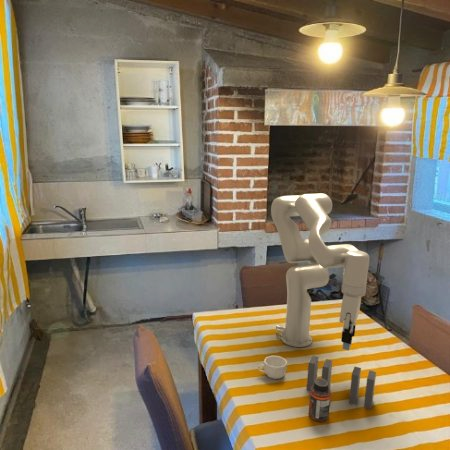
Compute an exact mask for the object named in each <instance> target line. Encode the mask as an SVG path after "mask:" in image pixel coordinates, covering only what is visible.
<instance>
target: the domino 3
mask: <svg viewBox="0 0 450 450" xmlns="http://www.w3.org/2000/svg"><path fill="white" fill-rule="evenodd" d="M350 323H352V322H350ZM353 326H354V325H353ZM349 327H351V326H350V325H349ZM352 333H353V327H352ZM352 342H353V341H352ZM352 342H351V344H348V343H344V342H342V343H343V344H342V350H345V351H350V348H351V346H352Z"/></svg>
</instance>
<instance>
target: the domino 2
mask: <svg viewBox="0 0 450 450" xmlns="http://www.w3.org/2000/svg"><path fill="white" fill-rule="evenodd" d="M332 367H333V360H332V359H328V358H327V359H325V361H324V362H323V365H322V367H321V368H322V369H321V379H325V380H326V381H327V382H328V387H329V389H330V388H331V381H332V369H333V368H332ZM330 390H331V389H330Z"/></svg>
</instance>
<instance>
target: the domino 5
mask: <svg viewBox="0 0 450 450" xmlns="http://www.w3.org/2000/svg"><path fill="white" fill-rule="evenodd" d="M376 376H377V371H374V370H369V371H368V375H367V377H366V385H365V386H366V387H365V393H364V394H365V395H364V404H363V408H364V409H368V410H371V409H372V405H373V403H374V401H373V400H374V394H375V384H376Z"/></svg>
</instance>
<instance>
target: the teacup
mask: <svg viewBox="0 0 450 450" xmlns="http://www.w3.org/2000/svg"><path fill="white" fill-rule="evenodd" d="M287 366H288V361H287V359H286V358H284V357H283V356H281V355H269V356H266V357H265V358H264V362H263V363H260V364H259V365H258V366H257V370H258V371H259V372H261V373H264V374H266V376H267V377H269V378H270V379H272V380H273V379H274V380H278V379H282V378H283V377H284V376H285V375H286V373H287ZM260 367H263V369H260Z"/></svg>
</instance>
